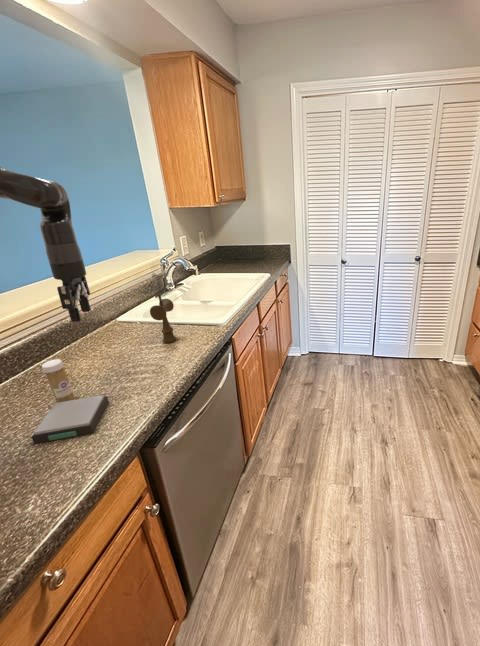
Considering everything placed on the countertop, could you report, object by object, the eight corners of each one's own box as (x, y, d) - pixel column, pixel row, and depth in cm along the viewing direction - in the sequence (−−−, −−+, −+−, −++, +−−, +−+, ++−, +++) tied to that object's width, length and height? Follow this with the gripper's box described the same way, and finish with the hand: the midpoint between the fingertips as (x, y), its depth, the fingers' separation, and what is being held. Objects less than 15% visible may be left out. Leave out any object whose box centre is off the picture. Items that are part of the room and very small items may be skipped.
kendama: (157, 346, 124) (145, 297, 116) (166, 336, 133) (156, 289, 125) (173, 346, 124) (161, 296, 116) (181, 335, 133) (171, 288, 125)
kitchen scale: (33, 445, 78) (29, 435, 77) (58, 410, 90) (54, 402, 89) (92, 434, 80) (89, 424, 79) (108, 402, 92) (106, 393, 91)
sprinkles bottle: (66, 409, 90) (50, 367, 85) (53, 407, 91) (36, 366, 86) (80, 399, 94) (65, 359, 89) (67, 397, 96) (52, 357, 90)
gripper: (60, 256, 93) (75, 310, 98) (37, 265, 80) (56, 326, 85) (89, 254, 94) (103, 307, 100) (72, 263, 82) (88, 323, 87)
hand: (81, 316), depth 93 cm, fingers open, 8 cm apart
